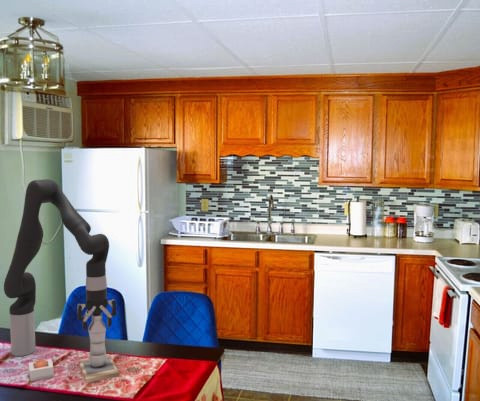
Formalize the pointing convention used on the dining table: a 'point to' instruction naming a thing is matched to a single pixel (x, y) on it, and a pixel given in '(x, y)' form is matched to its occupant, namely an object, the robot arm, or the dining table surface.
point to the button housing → (41, 371)
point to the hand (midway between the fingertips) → (97, 328)
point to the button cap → (40, 363)
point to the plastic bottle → (97, 341)
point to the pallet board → (98, 370)
